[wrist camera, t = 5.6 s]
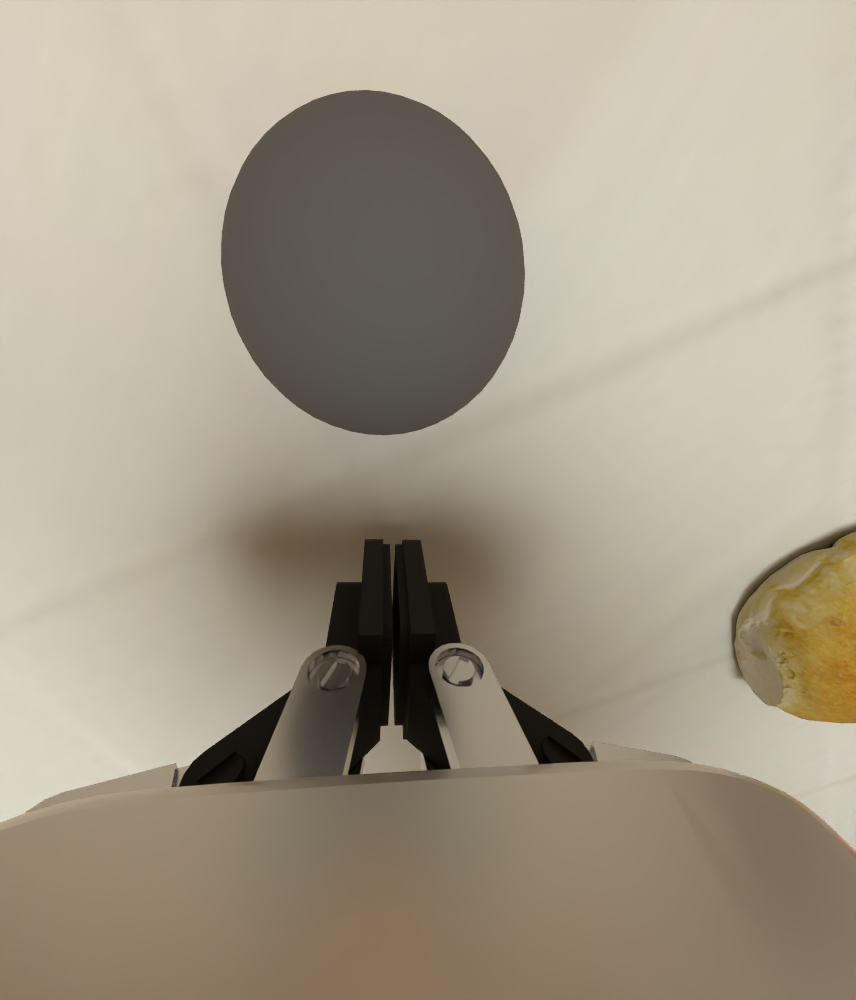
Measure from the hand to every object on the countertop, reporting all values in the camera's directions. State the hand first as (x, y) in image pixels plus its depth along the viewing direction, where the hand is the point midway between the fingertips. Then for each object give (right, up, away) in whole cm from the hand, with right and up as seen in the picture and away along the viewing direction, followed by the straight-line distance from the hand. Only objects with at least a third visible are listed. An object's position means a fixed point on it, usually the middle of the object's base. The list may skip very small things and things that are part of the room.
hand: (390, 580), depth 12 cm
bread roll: (+18, -2, +5) cm, 19 cm away
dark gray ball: (0, +6, -4) cm, 8 cm away
